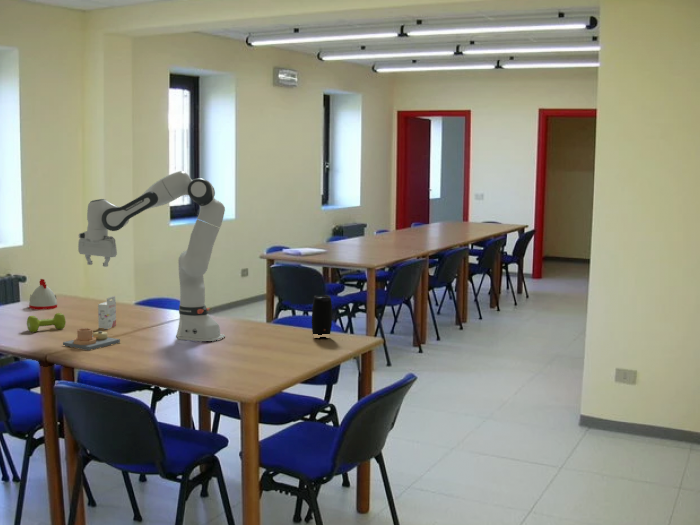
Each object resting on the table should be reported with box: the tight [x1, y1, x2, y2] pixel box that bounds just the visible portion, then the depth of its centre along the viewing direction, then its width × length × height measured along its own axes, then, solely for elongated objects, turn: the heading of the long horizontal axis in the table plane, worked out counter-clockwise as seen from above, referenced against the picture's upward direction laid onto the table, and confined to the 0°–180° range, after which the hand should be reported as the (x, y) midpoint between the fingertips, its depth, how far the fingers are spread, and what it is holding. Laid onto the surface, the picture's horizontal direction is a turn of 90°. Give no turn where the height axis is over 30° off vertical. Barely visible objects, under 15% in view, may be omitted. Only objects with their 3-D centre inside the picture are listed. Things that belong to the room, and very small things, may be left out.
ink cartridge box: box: [97, 295, 117, 330], centre depth 387 cm, size 9×5×15 cm, turn 168°
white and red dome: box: [28, 278, 58, 311], centre depth 432 cm, size 14×14×15 cm
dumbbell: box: [26, 312, 67, 333], centre depth 378 cm, size 16×8×7 cm, turn 131°
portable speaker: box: [311, 294, 333, 335], centre depth 379 cm, size 9×9×20 cm
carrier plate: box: [62, 330, 121, 351], centre depth 352 cm, size 15×18×6 cm
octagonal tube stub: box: [73, 327, 96, 345], centre depth 348 cm, size 9×9×6 cm
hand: (97, 265), depth 371 cm, fingers open, 8 cm apart
